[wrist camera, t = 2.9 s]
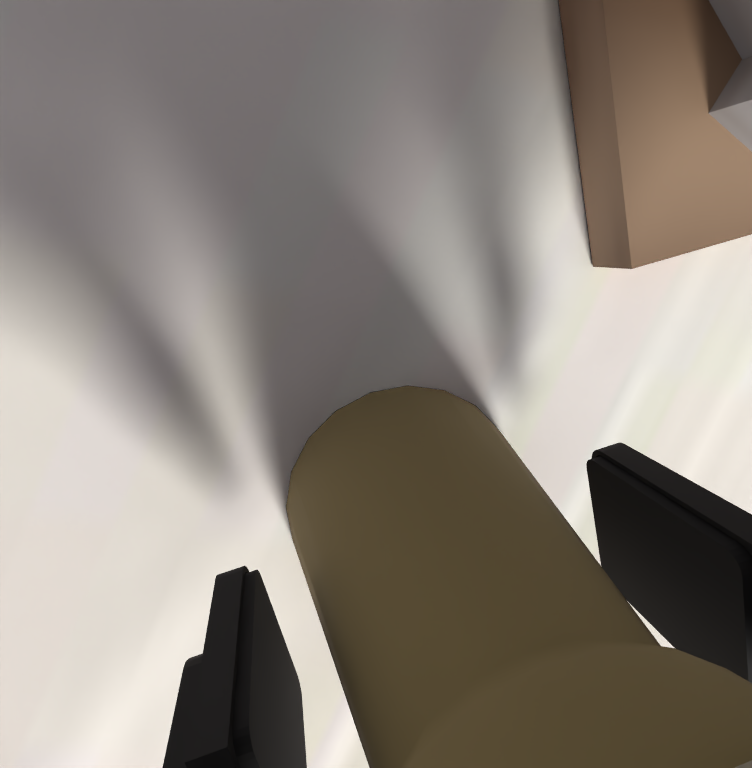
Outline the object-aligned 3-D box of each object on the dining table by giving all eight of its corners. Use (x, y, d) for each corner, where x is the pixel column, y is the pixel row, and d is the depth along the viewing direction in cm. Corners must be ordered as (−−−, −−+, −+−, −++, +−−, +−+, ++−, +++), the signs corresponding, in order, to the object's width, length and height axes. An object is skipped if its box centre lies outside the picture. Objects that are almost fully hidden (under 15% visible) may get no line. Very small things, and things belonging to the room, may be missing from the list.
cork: (256, 579, 14) (205, 1684, 3) (328, 355, 13) (615, 896, 2) (467, 617, 15) (907, 1451, 5) (547, 421, 14) (1352, 926, 4)
